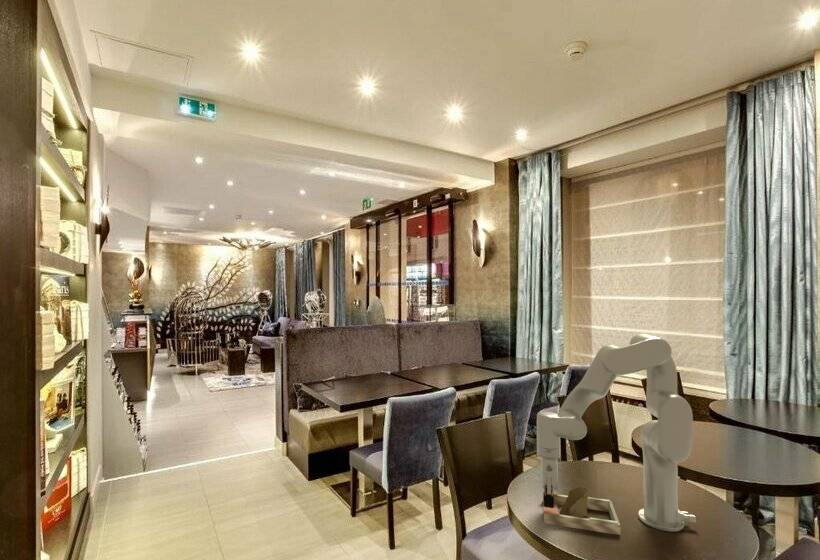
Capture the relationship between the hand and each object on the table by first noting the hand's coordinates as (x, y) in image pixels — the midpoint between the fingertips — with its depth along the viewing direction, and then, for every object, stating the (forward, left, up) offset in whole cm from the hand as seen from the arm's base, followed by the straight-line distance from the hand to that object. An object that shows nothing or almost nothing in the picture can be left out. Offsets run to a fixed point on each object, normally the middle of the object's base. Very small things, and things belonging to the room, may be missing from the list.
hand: (548, 506), depth 141 cm
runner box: (-9, 0, -2) cm, 10 cm away
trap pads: (-1, 0, -2) cm, 2 cm away
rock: (-7, 0, -2) cm, 8 cm away
